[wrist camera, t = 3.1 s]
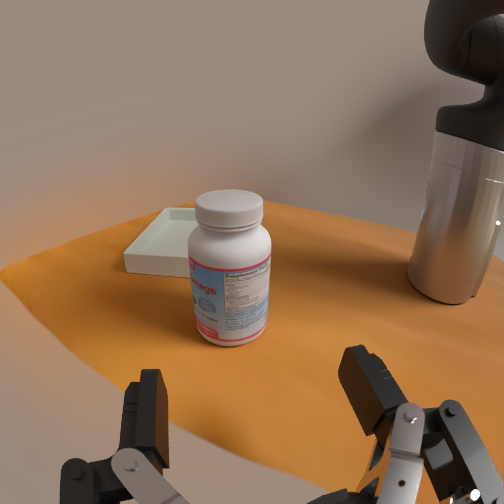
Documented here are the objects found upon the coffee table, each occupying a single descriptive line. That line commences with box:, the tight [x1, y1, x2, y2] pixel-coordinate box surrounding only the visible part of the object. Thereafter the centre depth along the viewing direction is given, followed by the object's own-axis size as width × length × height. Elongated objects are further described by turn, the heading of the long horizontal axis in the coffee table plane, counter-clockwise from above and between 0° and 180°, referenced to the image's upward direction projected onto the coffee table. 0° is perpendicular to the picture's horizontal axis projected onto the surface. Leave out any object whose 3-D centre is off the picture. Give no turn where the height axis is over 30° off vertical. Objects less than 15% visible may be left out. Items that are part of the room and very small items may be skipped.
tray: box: [123, 208, 262, 278], centre depth 37 cm, size 15×15×2 cm
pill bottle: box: [188, 189, 271, 346], centre depth 22 cm, size 6×6×11 cm
